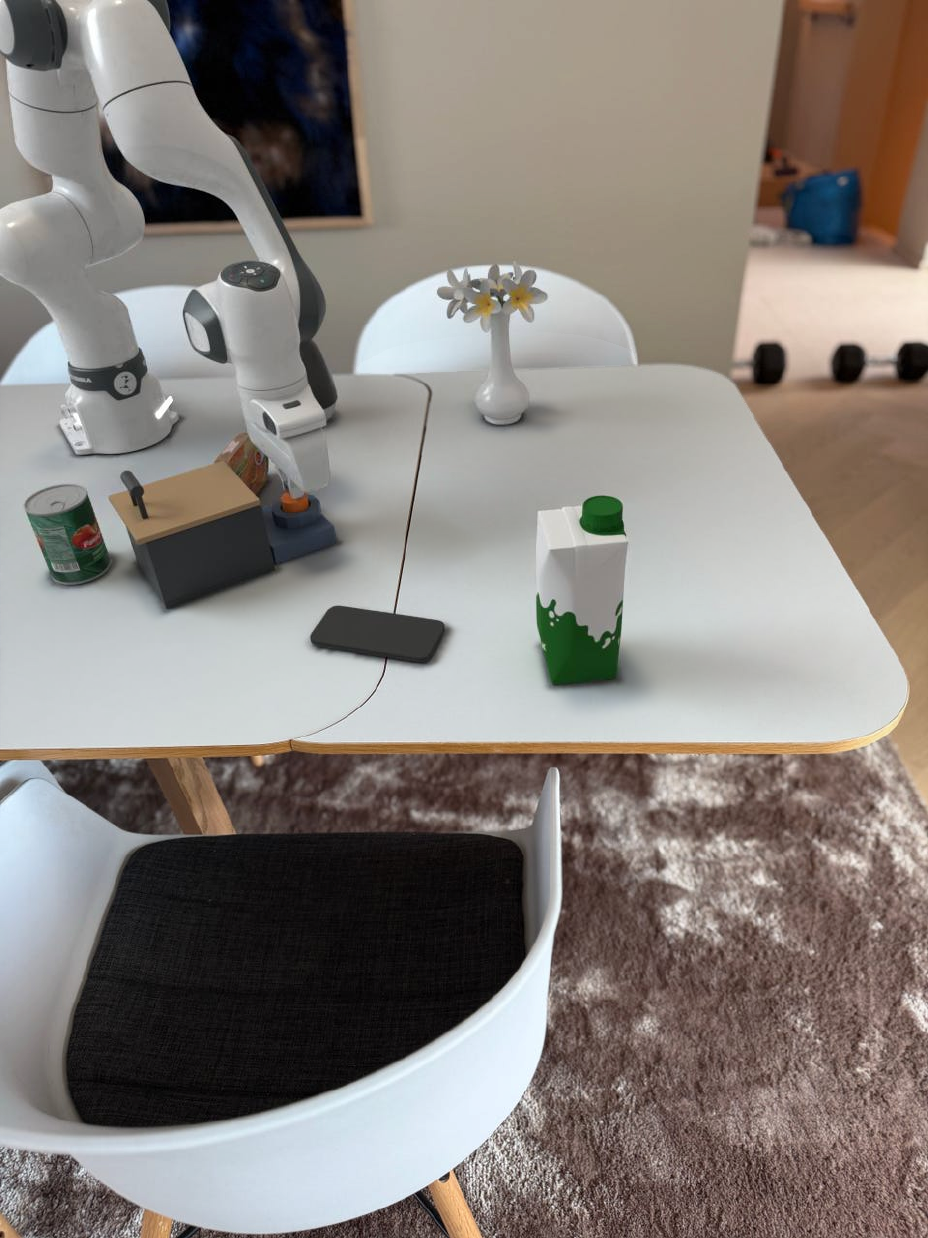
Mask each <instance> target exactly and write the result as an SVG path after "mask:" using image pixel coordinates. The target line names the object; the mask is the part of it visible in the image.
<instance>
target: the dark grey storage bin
mask: <svg viewBox="0 0 928 1238" xmlns="http://www.w3.org/2000/svg"><path fill="white" fill-rule="evenodd" d="M262 508H263V507H262V504H261V505H259V506H256V507H253V508H249V509H246V510H243V511H240V512H237V513H234V514H231V515H228V516H225V517H222V518H219V519H216V520H213V521H210V522H207V523H204V524H201V525H198V526H195V527H192V528H189V529H186V530H183V531H180V532H177V533H174V534H171V535H168V536H165V537H162V538H159V539H156V540H153V541H150V542H147V543H144V544H140V545H138V544H137V543H136V541H135V540H134V538H133V537H132V535H131V533H130V532H129V530H128V529H127V527H126V526H125V528H126V531H127V535H128V538H129V541H130V544H131V547H132V550H133V554H134V556H135V560H136V562H137V564H138V566H139V567H140V569H141V570H142V572H143V574H144V575H145V577H146V578H147V580H148V582H149V583H150V585H151V587H152V588H153V590H154V592H155V593H156V595H157V597H158V598H159V600H160V601H161V603H162V604H163V606H164V608H165V609H166V610H169V609H171V608H174V607H178V606H179V605H182V604H185V603H188V602H190V601H194V600H196V599H199V598H202V597H204V596H207V595H210V594H212V593H216V592H219V591H221V590H224V589H226V588H230V587H232V586H235V585H237V584H240V583H243V582H246V581H249V580H251V579H254V578H256V577H259V576H262V575H265V574H267V573H270V572H273V571H276V568H275V567H276V566H275V562H274V561H273V558H272V553H271V549H270V544H269V540H268V535H267V531H266V526H265V522H264V517H263V513H262Z"/></svg>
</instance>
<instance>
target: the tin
mask: <svg viewBox="0 0 928 1238" xmlns="http://www.w3.org/2000/svg"><path fill="white" fill-rule="evenodd" d="M221 461H224V462H225V463H226V464H227V465H228V466H229V467H230V468H231V469H232V470H233V472H234V473H235V474H236V475H237V476H238V477H239V478H240V479H241V480H242V481H243V482H244V483H245V484H246V486H247V487H248V488H249V489H250V490H251V491H252V492H253V493H254V494H255V495H256V496H257V495H258V493H259V492H260V490H261V489H262V488H263V486H265V483H266V481H267V479H268V475H269V466H270V465H269V464H270V463H269V458H268V457H267V456H266V455H265V454H264V453H263V452H262V451H261V450H259V449H258V448H257V447H256V446H255V445H254V444H253V443H252V442H251V440H250V438H249V435H248V432H245V433H238V434H236V435H235V436H234V437H233V438H232V439H231V441H230V442H229V443H228V445H227V446H226V447H225V448H224V449H223V450H222V451H221V453H220V454H219V455H218V456H217V457H216V458H215V460H214V462H213V464H214V463H218V462H221Z"/></svg>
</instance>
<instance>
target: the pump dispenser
mask: <svg viewBox="0 0 928 1238" xmlns="http://www.w3.org/2000/svg"><path fill="white" fill-rule="evenodd" d="M299 352H300V357H301V360H302V362H303V364H304V366H305V369H306V374H307V380H308V384H309V385H310V387H311V390H312V393H313V395H314V397H315V399H316V400H317V402H318V403H319V405H320V406H321V408H322V409H323V411H324V413H325V417H326V422H327V421H328V420H329V419H330V418H331V417H332V416H333V415H334V412H335V410H336V406H337V401H338V397H339V396H338V390H337V386H336V383H335V380H334V377H333V375H332V371H331V369H330V367H329V364H328V363H327V360H326V358H325V356H324V354H323V352H322V350H321V349H320V347H319V346H318V344H317V343H316V342H315V341H314V339H311V340H309V341H304V342H300V346H299Z"/></svg>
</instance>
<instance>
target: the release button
mask: <svg viewBox="0 0 928 1238" xmlns="http://www.w3.org/2000/svg"><path fill="white" fill-rule="evenodd" d="M307 494H308V493H304V495H303V496H302V497H299V498H296V499H293V498H292V497H291V496H290V495H289V494H288V493H287V492H286V491H285V492H284V493H283V494H282V495H281V496H280V498H281V503H282V508H283V511H284V512H286V513H299V512H302V511H304V510H306V509H307V508H309V503H308V498H307Z"/></svg>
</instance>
